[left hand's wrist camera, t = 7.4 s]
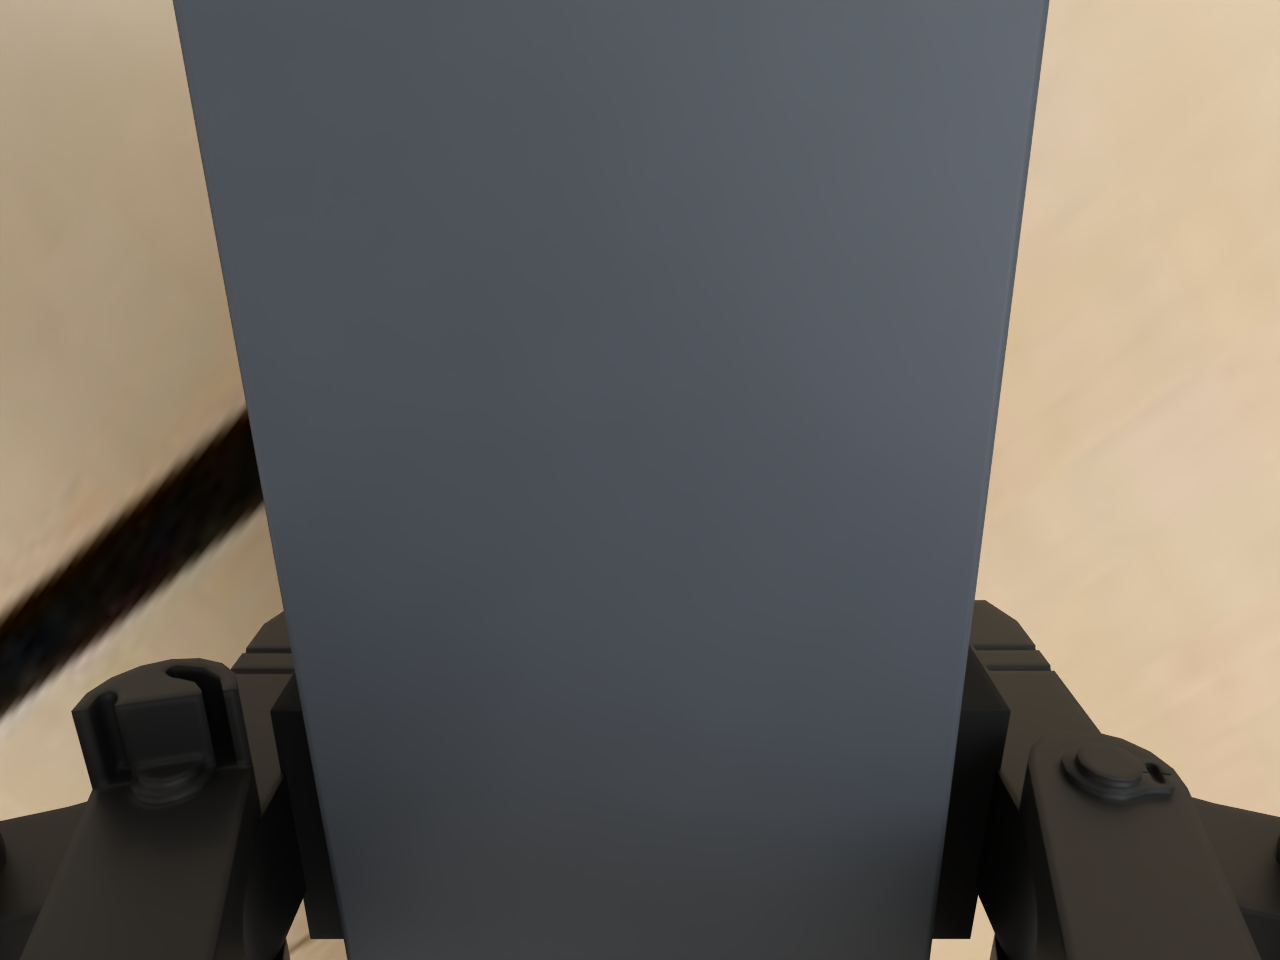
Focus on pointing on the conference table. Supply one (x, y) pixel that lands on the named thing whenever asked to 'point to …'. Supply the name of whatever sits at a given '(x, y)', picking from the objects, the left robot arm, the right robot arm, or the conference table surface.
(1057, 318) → the conference table surface
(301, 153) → the beam
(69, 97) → the conference table surface
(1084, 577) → the conference table surface
